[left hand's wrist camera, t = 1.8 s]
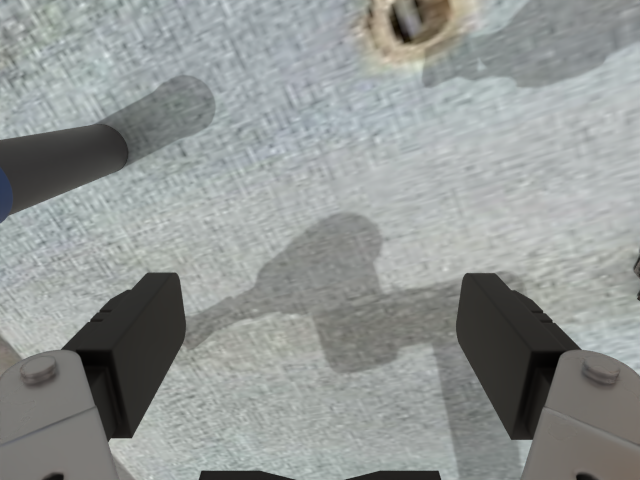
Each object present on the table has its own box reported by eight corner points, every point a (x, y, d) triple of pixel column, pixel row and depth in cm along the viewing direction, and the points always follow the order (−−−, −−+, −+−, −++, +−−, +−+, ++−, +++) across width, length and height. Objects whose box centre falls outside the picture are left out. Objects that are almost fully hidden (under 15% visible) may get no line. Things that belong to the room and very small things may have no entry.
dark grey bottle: (136, 143, 38) (0, 185, 22) (115, 181, 40) (-28, 247, 23) (91, 114, 37) (-86, 134, 21) (71, 154, 39) (-110, 202, 22)
